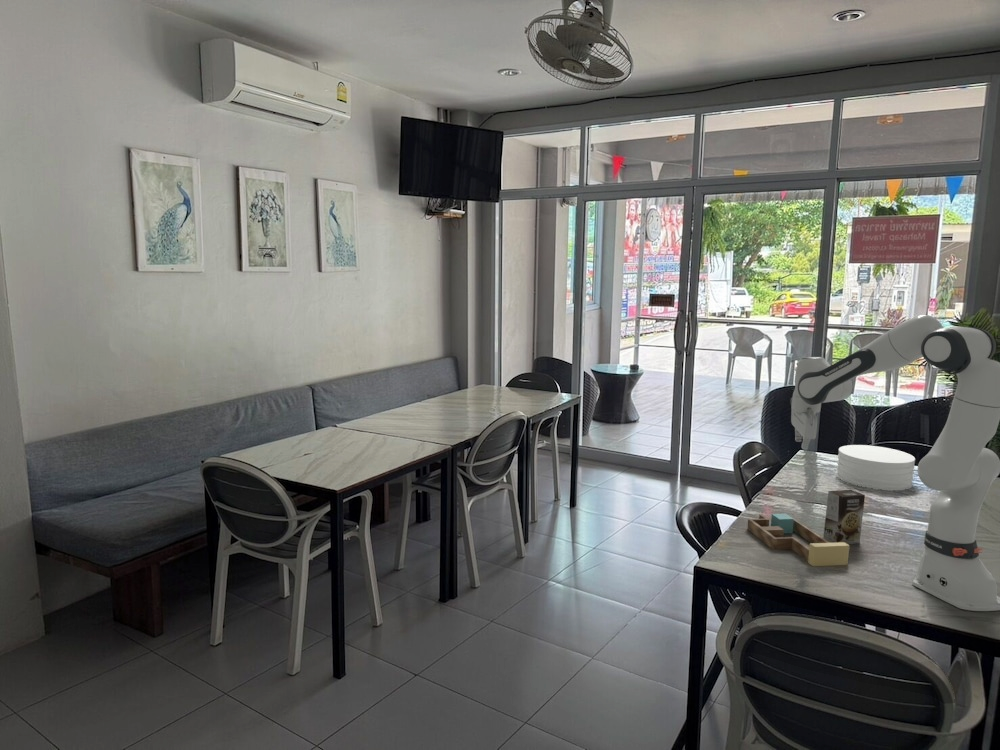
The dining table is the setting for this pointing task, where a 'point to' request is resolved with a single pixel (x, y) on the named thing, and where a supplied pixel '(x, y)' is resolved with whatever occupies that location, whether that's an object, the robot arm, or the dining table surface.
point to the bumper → (828, 554)
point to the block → (783, 522)
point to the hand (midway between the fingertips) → (801, 445)
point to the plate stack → (875, 467)
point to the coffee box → (844, 516)
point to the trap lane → (775, 535)
